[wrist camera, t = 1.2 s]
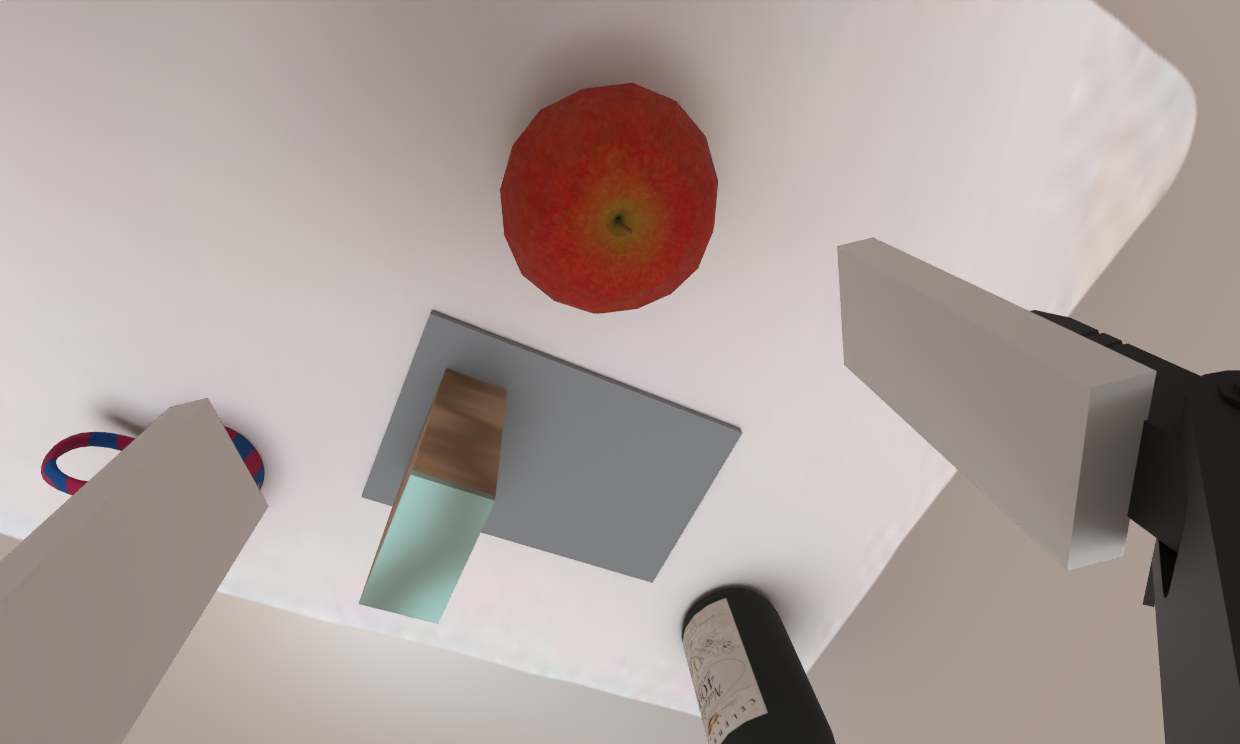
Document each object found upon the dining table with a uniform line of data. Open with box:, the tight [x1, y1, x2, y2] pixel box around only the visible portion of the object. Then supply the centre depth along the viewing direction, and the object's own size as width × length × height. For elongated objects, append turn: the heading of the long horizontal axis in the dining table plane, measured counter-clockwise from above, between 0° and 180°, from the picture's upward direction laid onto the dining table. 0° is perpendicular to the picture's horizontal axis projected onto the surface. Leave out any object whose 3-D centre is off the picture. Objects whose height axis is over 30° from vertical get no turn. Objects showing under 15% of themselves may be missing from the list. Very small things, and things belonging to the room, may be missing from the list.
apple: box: [500, 83, 718, 313], centre depth 30 cm, size 10×10×14 cm
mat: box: [362, 311, 742, 583], centre depth 44 cm, size 22×14×1 cm, turn 64°
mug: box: [41, 427, 264, 495], centre depth 38 cm, size 7×10×7 cm
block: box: [359, 368, 507, 624], centre depth 36 cm, size 4×8×12 cm, turn 154°
